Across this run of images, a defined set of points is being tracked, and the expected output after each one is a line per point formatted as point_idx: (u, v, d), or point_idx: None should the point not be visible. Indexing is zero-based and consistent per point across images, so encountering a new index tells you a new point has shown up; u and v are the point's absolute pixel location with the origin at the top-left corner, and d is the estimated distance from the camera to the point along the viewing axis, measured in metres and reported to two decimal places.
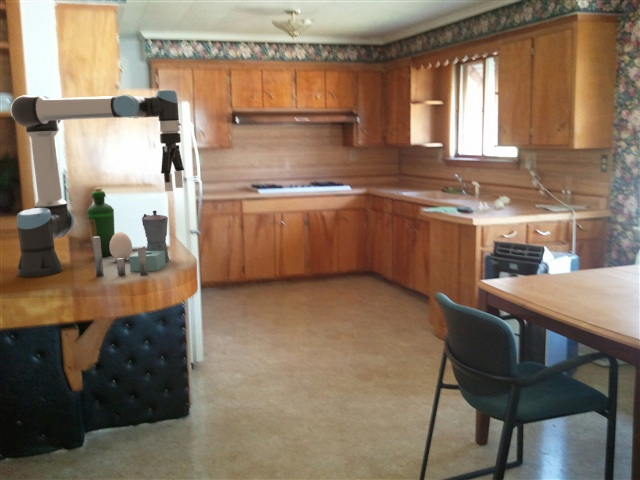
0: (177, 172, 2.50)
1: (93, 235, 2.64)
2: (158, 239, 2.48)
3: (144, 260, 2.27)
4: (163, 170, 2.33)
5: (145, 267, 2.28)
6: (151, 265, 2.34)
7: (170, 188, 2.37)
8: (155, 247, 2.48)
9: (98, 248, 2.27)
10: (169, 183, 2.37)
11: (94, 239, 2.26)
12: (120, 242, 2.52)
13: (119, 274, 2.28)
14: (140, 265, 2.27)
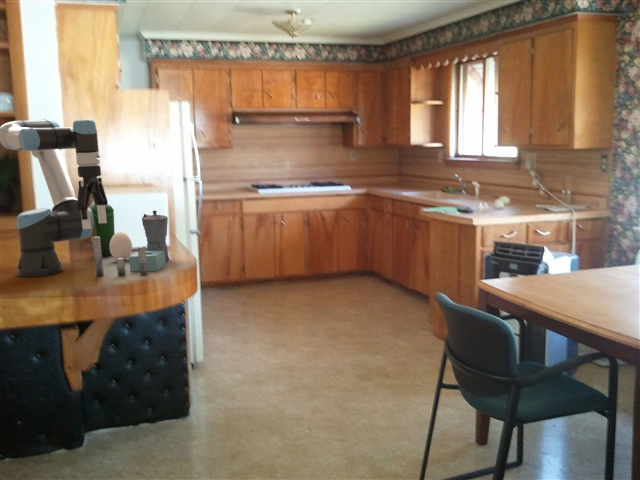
0: (100, 207, 2.32)
1: (93, 235, 2.64)
2: (158, 239, 2.48)
3: (144, 260, 2.27)
4: (79, 207, 2.16)
5: (145, 267, 2.28)
6: (151, 265, 2.34)
7: (88, 226, 2.19)
8: (155, 247, 2.48)
9: (98, 248, 2.27)
10: (87, 220, 2.19)
11: (94, 239, 2.26)
12: (120, 242, 2.52)
13: (119, 274, 2.28)
14: (140, 265, 2.27)
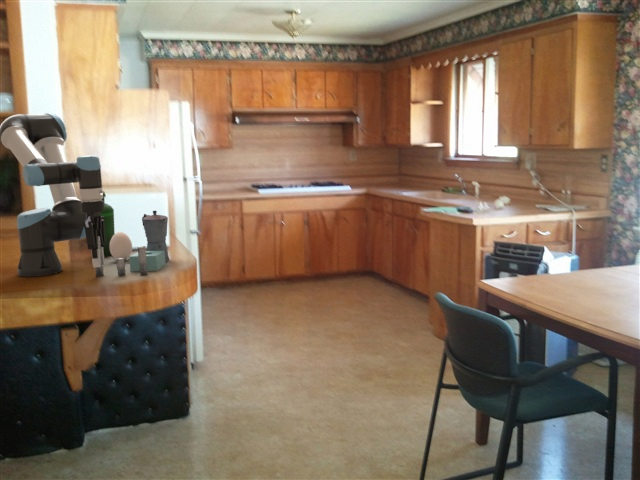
0: None
1: None
2: (158, 239, 2.48)
3: (144, 260, 2.27)
4: (89, 247, 2.23)
5: (145, 267, 2.28)
6: (151, 265, 2.34)
7: (98, 264, 2.27)
8: (155, 247, 2.48)
9: (98, 248, 2.27)
10: (97, 259, 2.27)
11: None
12: (120, 242, 2.52)
13: (119, 274, 2.28)
14: (140, 265, 2.27)
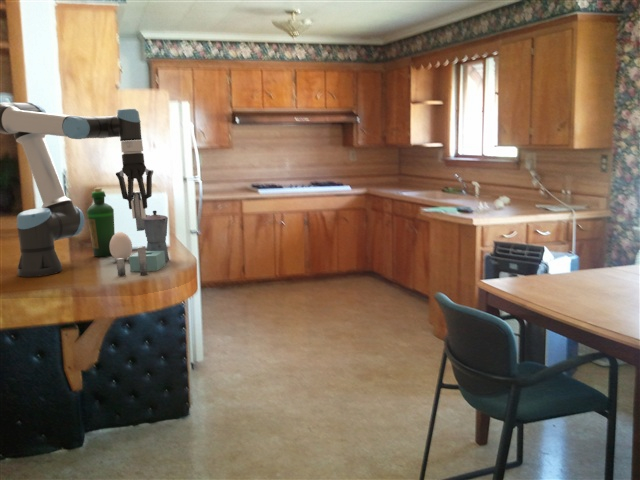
0: None
1: (93, 235, 2.64)
2: (158, 239, 2.48)
3: (144, 260, 2.27)
4: None
5: (145, 267, 2.28)
6: (151, 265, 2.34)
7: None
8: (155, 247, 2.48)
9: (134, 203, 2.33)
10: None
11: None
12: (120, 242, 2.52)
13: (119, 274, 2.28)
14: (140, 265, 2.27)
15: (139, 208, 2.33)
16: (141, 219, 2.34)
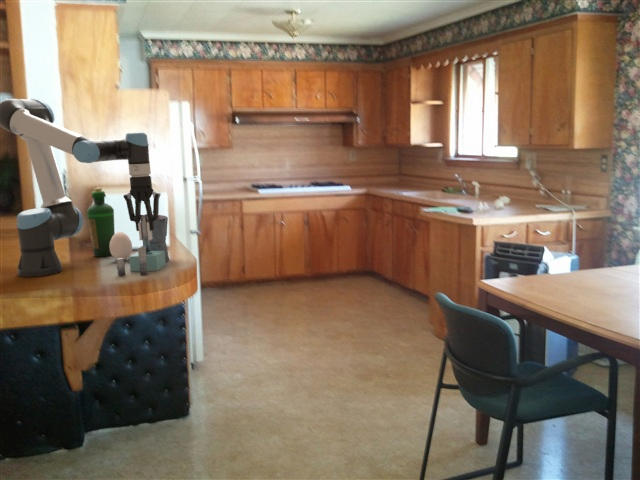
0: None
1: (93, 235, 2.64)
2: (158, 239, 2.48)
3: (144, 260, 2.27)
4: None
5: (145, 267, 2.28)
6: (151, 265, 2.34)
7: None
8: (155, 247, 2.48)
9: (141, 225, 2.36)
10: None
11: None
12: (120, 242, 2.52)
13: (119, 274, 2.28)
14: (140, 265, 2.27)
15: (146, 230, 2.36)
16: (148, 241, 2.37)
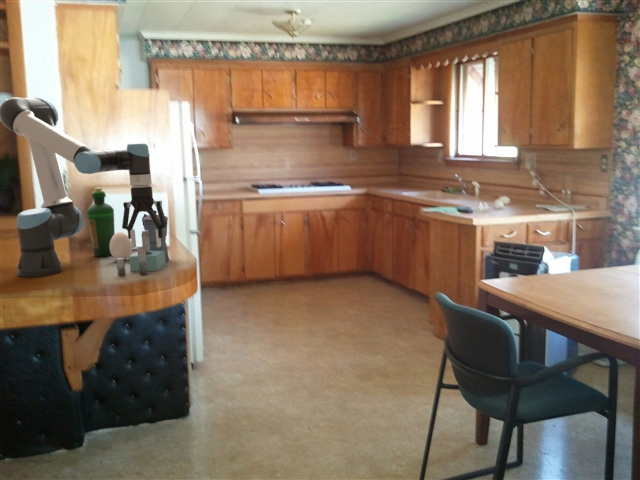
0: None
1: (93, 235, 2.64)
2: None
3: (144, 260, 2.27)
4: None
5: (145, 267, 2.28)
6: (151, 265, 2.34)
7: None
8: (155, 247, 2.48)
9: (142, 241, 2.37)
10: None
11: None
12: (120, 242, 2.52)
13: (119, 274, 2.28)
14: (140, 265, 2.27)
15: (147, 247, 2.37)
16: None
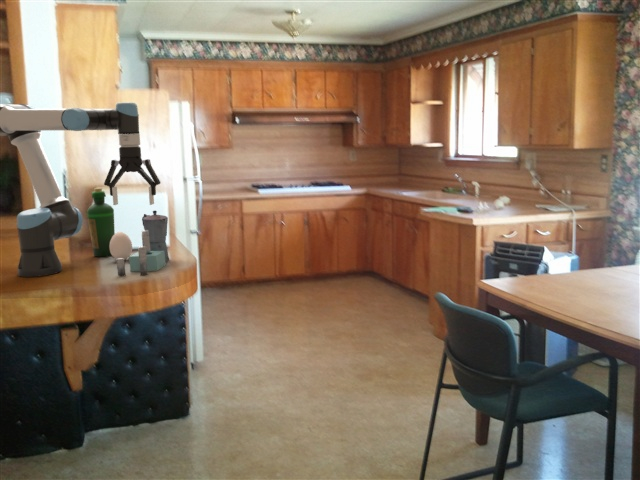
0: None
1: (93, 235, 2.64)
2: (158, 239, 2.48)
3: (144, 260, 2.27)
4: None
5: (145, 267, 2.28)
6: (151, 265, 2.34)
7: None
8: (155, 247, 2.48)
9: (142, 241, 2.37)
10: None
11: None
12: (120, 242, 2.52)
13: (119, 274, 2.28)
14: (140, 265, 2.27)
15: (147, 247, 2.37)
16: None
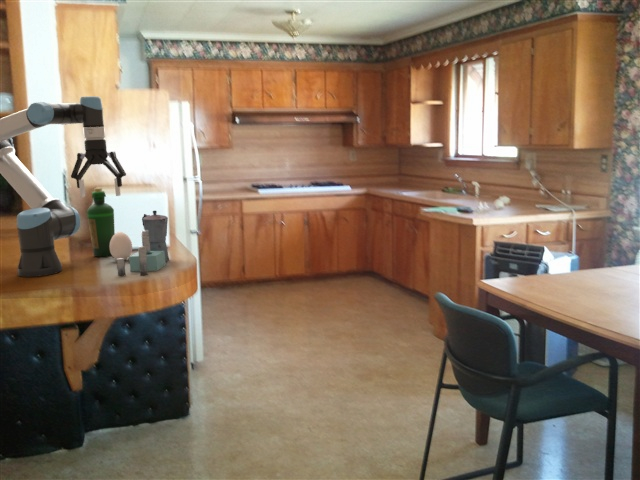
0: None
1: (93, 235, 2.64)
2: (158, 239, 2.48)
3: (144, 260, 2.27)
4: None
5: (145, 267, 2.28)
6: (151, 265, 2.34)
7: None
8: (155, 247, 2.48)
9: (142, 241, 2.37)
10: None
11: None
12: (120, 242, 2.52)
13: (119, 274, 2.28)
14: (140, 265, 2.27)
15: (147, 247, 2.37)
16: None
